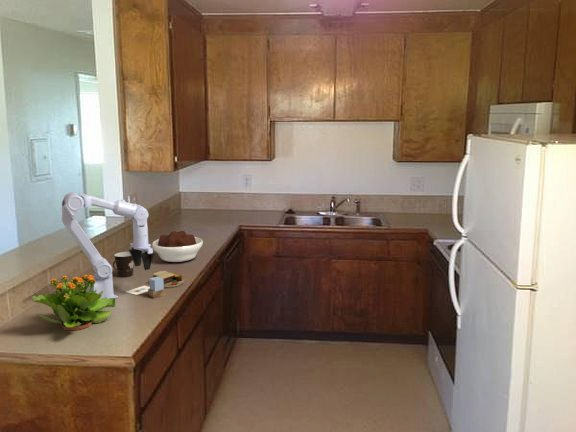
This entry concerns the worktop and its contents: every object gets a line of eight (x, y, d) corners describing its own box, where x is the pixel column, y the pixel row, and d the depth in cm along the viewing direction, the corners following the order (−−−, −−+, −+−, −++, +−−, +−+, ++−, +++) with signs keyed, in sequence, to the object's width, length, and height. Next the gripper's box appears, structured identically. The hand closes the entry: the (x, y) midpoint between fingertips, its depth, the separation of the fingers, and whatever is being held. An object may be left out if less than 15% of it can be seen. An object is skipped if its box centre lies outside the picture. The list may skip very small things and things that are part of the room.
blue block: (155, 291, 210) (154, 280, 210) (149, 289, 213) (149, 278, 212) (163, 289, 213) (163, 278, 212) (158, 287, 216) (157, 276, 215)
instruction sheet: (136, 295, 215) (136, 294, 215) (125, 292, 219) (125, 291, 218) (155, 288, 223) (155, 288, 223) (144, 285, 227) (144, 285, 227)
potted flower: (100, 339, 172) (96, 288, 168) (24, 342, 170) (19, 290, 167) (118, 312, 196) (115, 266, 193) (52, 314, 194) (48, 268, 191)
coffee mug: (129, 271, 248) (128, 250, 246) (138, 275, 242) (137, 254, 240) (106, 276, 240) (104, 255, 238) (115, 280, 234) (113, 259, 232)
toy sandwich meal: (166, 291, 220) (166, 280, 220) (147, 284, 229) (146, 274, 228) (190, 283, 230) (189, 273, 229) (170, 277, 238) (170, 267, 238)
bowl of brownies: (166, 252, 282) (164, 225, 279) (210, 254, 277) (209, 226, 274) (144, 265, 258) (142, 235, 255) (192, 267, 253) (191, 237, 250)
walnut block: (153, 299, 210) (153, 292, 210) (148, 296, 214) (148, 288, 214) (165, 296, 213) (164, 289, 213) (159, 293, 217) (159, 286, 217)
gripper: (158, 236, 212) (160, 269, 215) (140, 231, 222) (142, 262, 225) (143, 239, 207) (144, 272, 210) (125, 233, 217) (126, 265, 220)
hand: (142, 267), depth 217 cm, fingers open, 7 cm apart
